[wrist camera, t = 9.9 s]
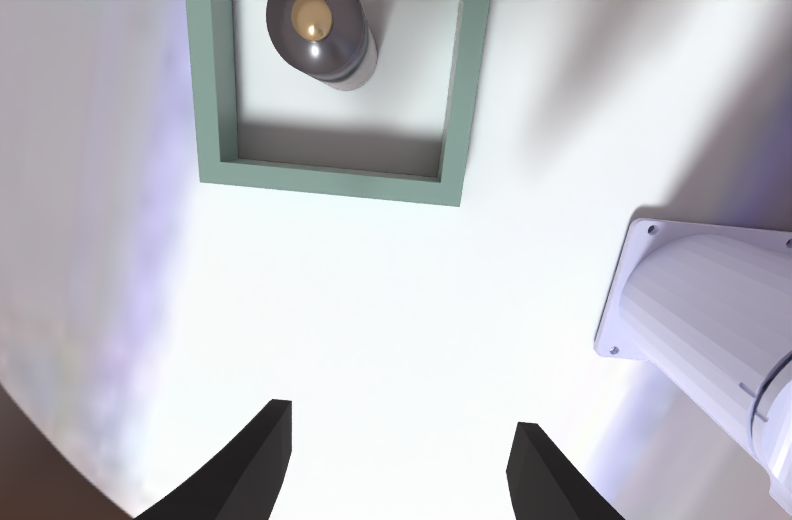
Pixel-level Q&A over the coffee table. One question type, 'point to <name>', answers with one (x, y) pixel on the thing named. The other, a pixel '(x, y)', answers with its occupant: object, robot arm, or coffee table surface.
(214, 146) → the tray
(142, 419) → the coffee table surface
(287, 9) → the cell
